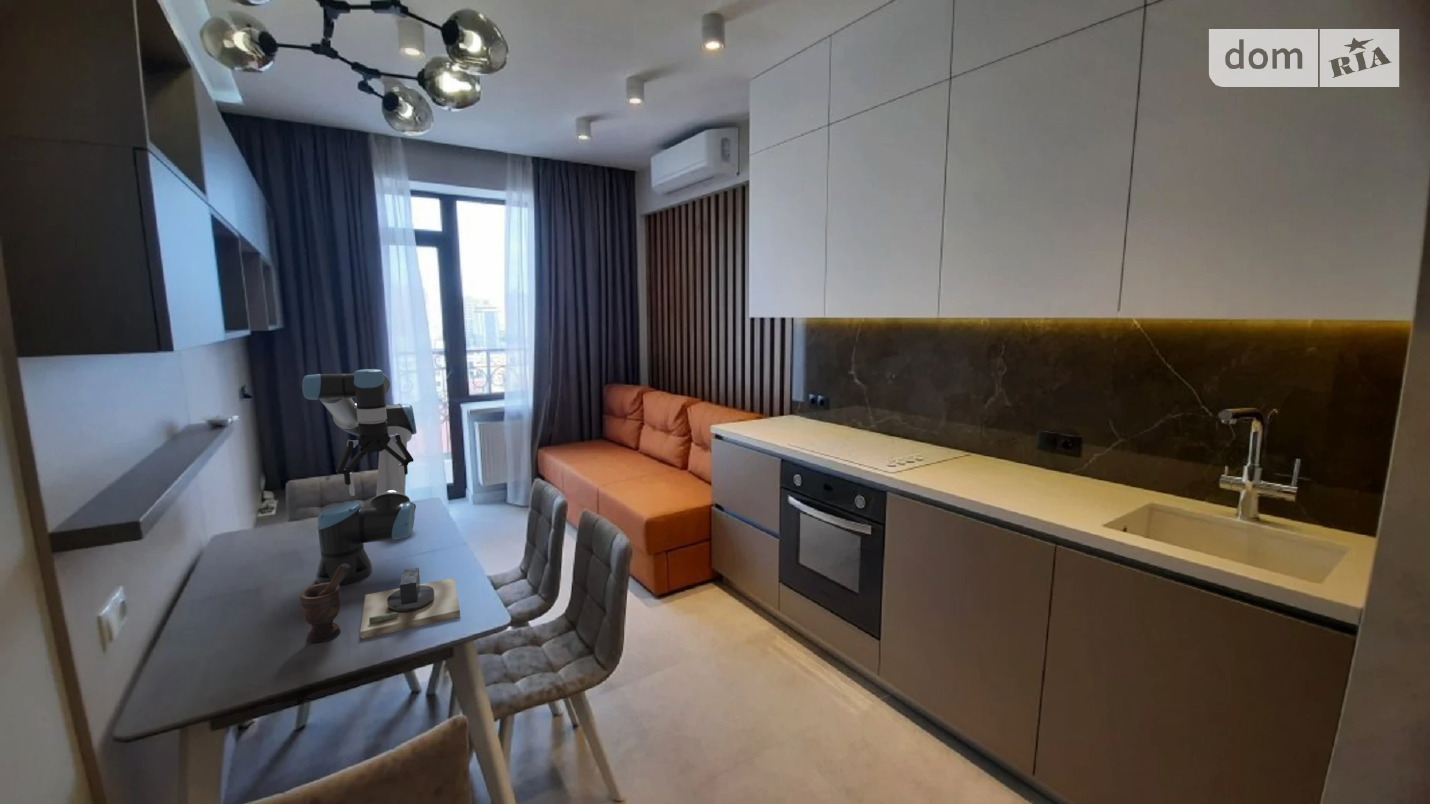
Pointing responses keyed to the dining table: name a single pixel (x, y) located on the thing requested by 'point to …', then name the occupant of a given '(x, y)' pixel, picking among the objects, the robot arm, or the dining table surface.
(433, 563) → the dining table surface
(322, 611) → the mortar and pestle
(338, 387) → the robot arm
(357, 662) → the dining table surface
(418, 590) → the dial knob
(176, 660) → the dining table surface
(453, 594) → the base plate
